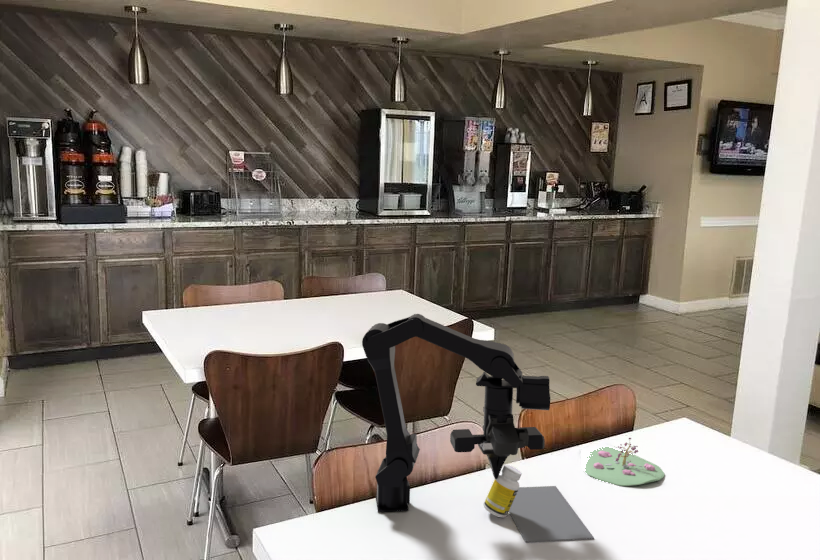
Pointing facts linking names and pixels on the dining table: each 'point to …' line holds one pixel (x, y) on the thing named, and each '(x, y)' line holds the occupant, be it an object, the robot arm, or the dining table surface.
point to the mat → (546, 516)
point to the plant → (622, 467)
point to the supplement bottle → (503, 491)
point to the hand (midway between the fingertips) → (495, 478)
